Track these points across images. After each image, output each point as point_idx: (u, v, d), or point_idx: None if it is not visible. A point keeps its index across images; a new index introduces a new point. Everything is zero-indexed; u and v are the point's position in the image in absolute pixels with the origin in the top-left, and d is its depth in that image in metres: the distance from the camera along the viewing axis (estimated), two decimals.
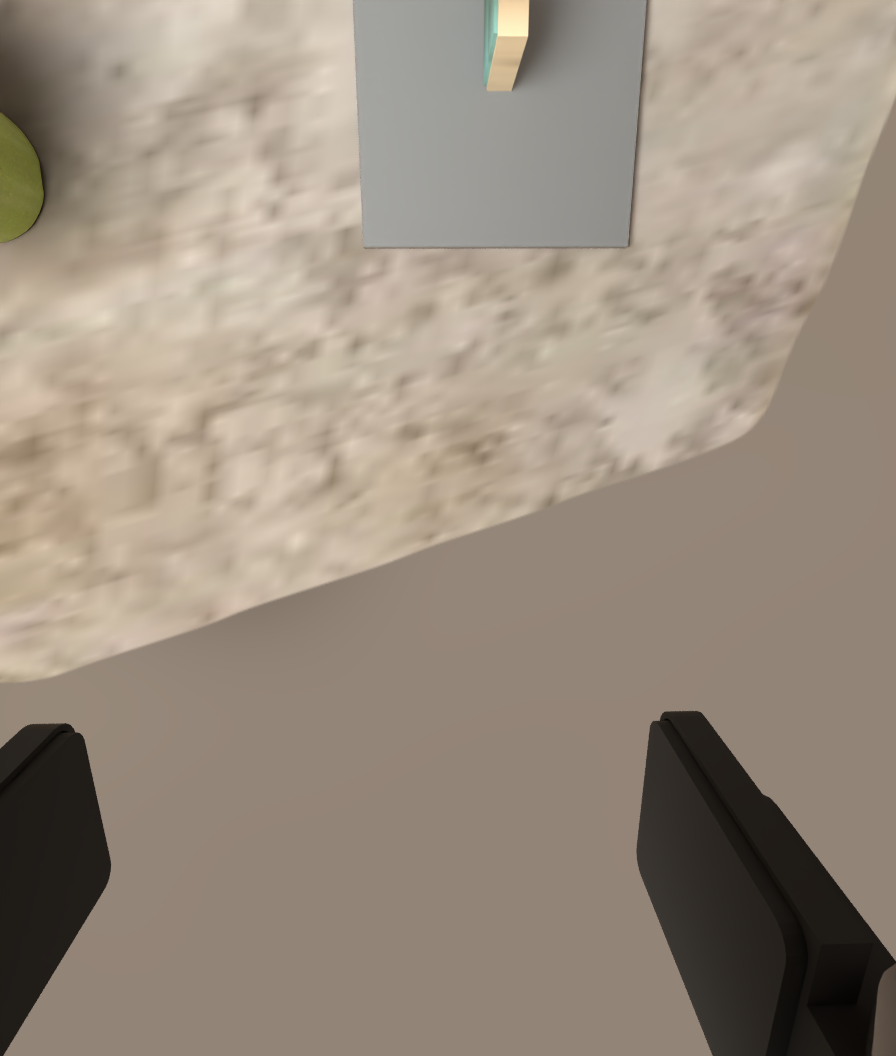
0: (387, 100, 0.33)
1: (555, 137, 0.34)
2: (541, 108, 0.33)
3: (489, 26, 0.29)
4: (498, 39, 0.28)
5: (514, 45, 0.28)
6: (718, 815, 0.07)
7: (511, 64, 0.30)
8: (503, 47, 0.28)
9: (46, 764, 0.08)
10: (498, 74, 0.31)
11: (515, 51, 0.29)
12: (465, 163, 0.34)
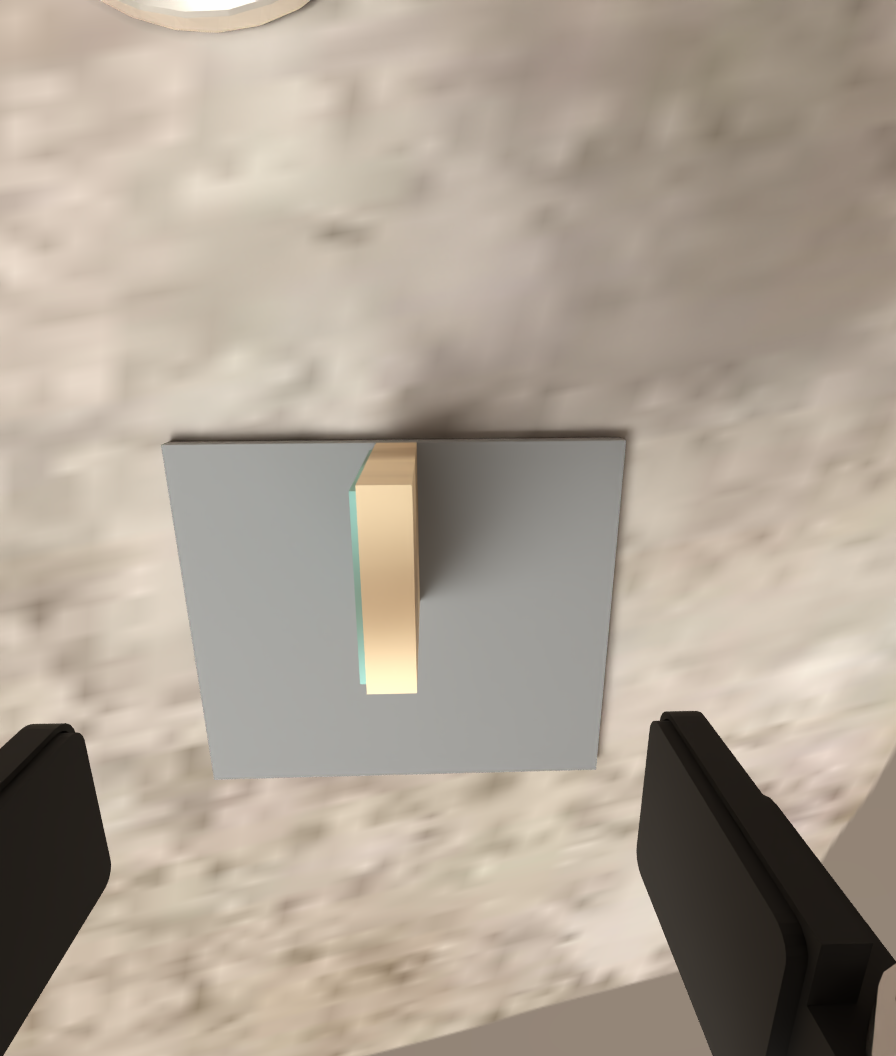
0: (234, 615, 0.22)
1: (487, 652, 0.23)
2: (465, 619, 0.22)
3: None
4: None
5: None
6: (718, 815, 0.07)
7: None
8: None
9: (46, 764, 0.08)
10: None
11: None
12: (356, 684, 0.23)
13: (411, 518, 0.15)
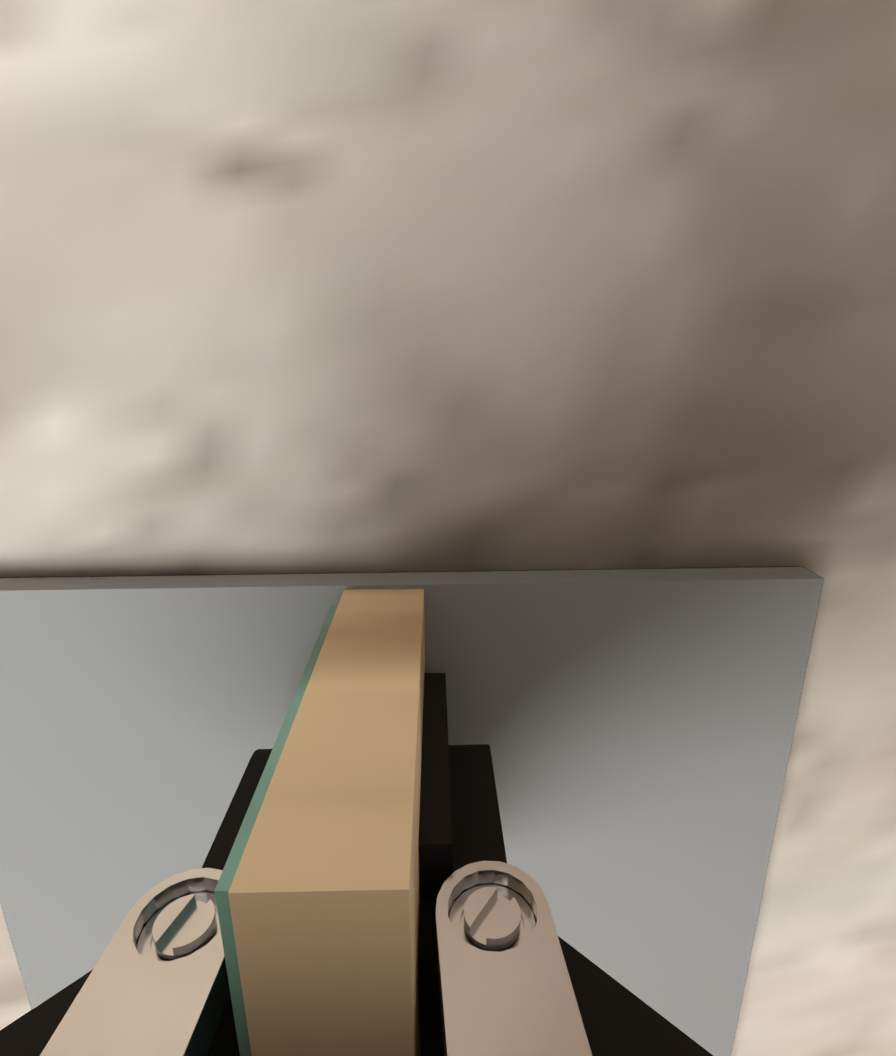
0: (81, 883, 0.12)
1: None
2: None
3: None
4: None
5: None
6: None
7: None
8: None
9: None
10: None
11: None
12: None
13: (407, 970, 0.05)
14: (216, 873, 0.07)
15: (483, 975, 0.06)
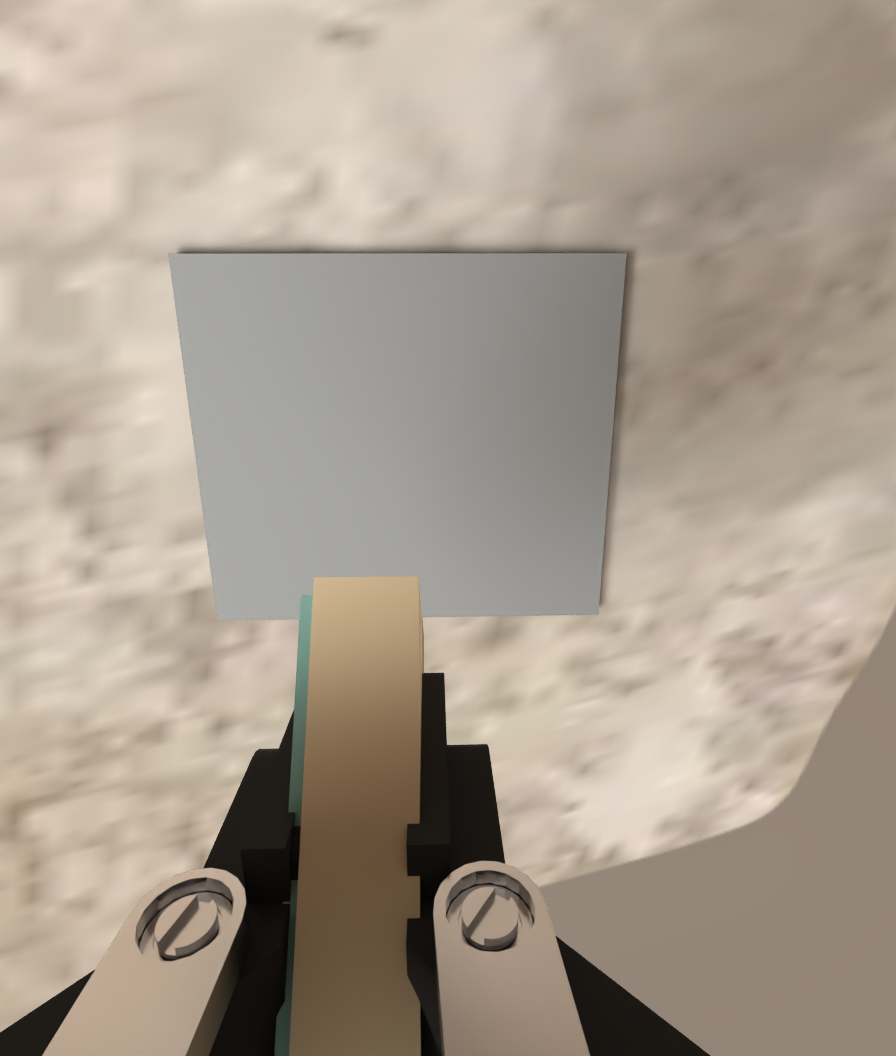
0: (239, 440, 0.22)
1: (490, 483, 0.23)
2: (468, 447, 0.23)
3: None
4: None
5: None
6: None
7: None
8: None
9: None
10: None
11: None
12: (359, 517, 0.23)
13: (416, 642, 0.08)
14: (218, 873, 0.07)
15: (481, 975, 0.05)
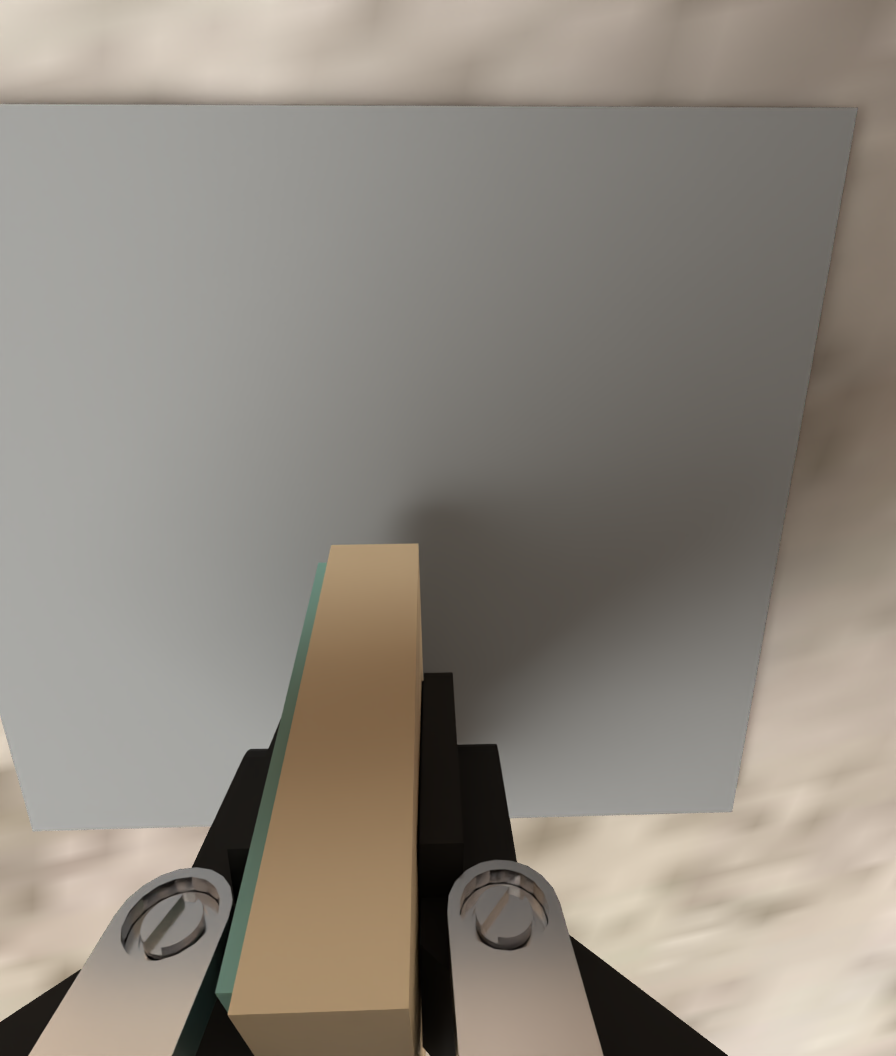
0: (37, 510, 0.11)
1: (542, 589, 0.12)
2: (500, 521, 0.11)
3: None
4: (241, 1027, 0.05)
5: (352, 1043, 0.05)
6: None
7: None
8: (297, 1051, 0.05)
9: None
10: None
11: None
12: (288, 652, 0.12)
13: (415, 580, 0.09)
14: (205, 873, 0.07)
15: (494, 973, 0.06)
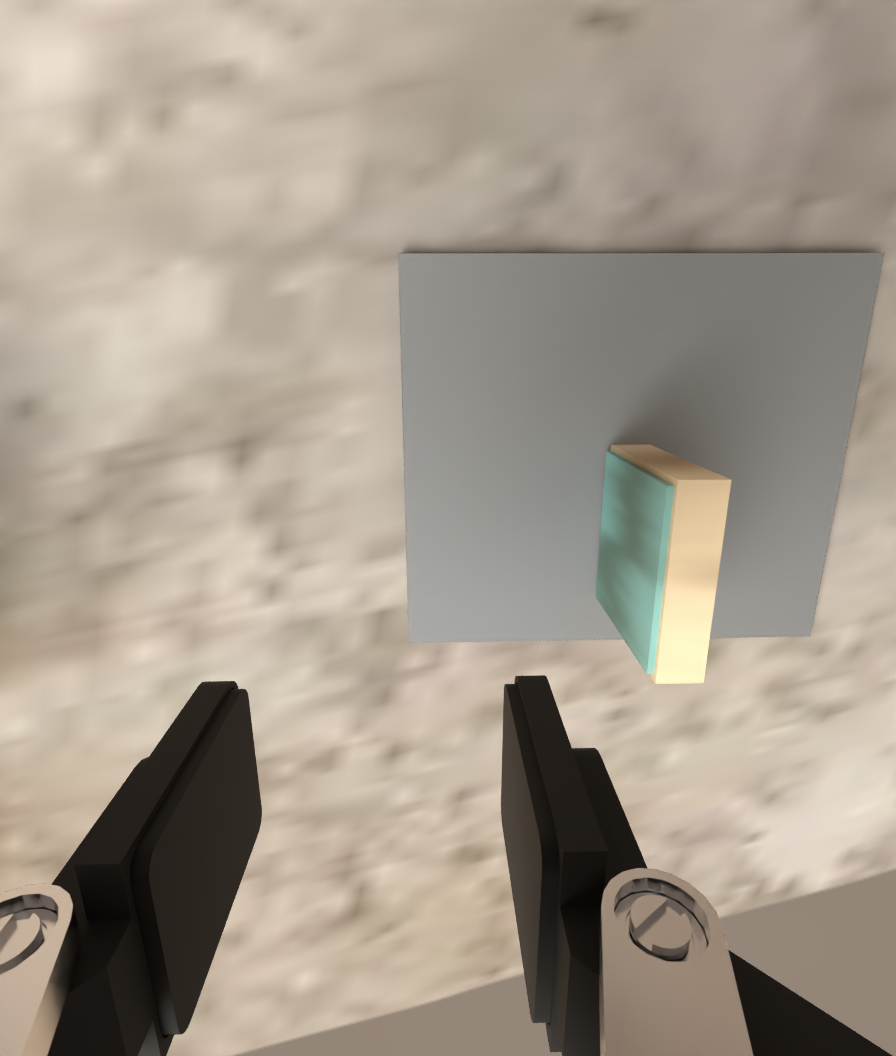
0: (452, 452, 0.21)
1: None
2: (693, 459, 0.21)
3: (643, 548, 0.17)
4: (679, 490, 0.15)
5: (707, 511, 0.15)
6: (526, 758, 0.08)
7: (702, 580, 0.16)
8: (687, 519, 0.16)
9: (230, 714, 0.09)
10: (678, 618, 0.16)
11: (709, 533, 0.16)
12: (569, 533, 0.22)
13: (657, 448, 0.20)
14: (52, 889, 0.06)
15: (647, 978, 0.05)
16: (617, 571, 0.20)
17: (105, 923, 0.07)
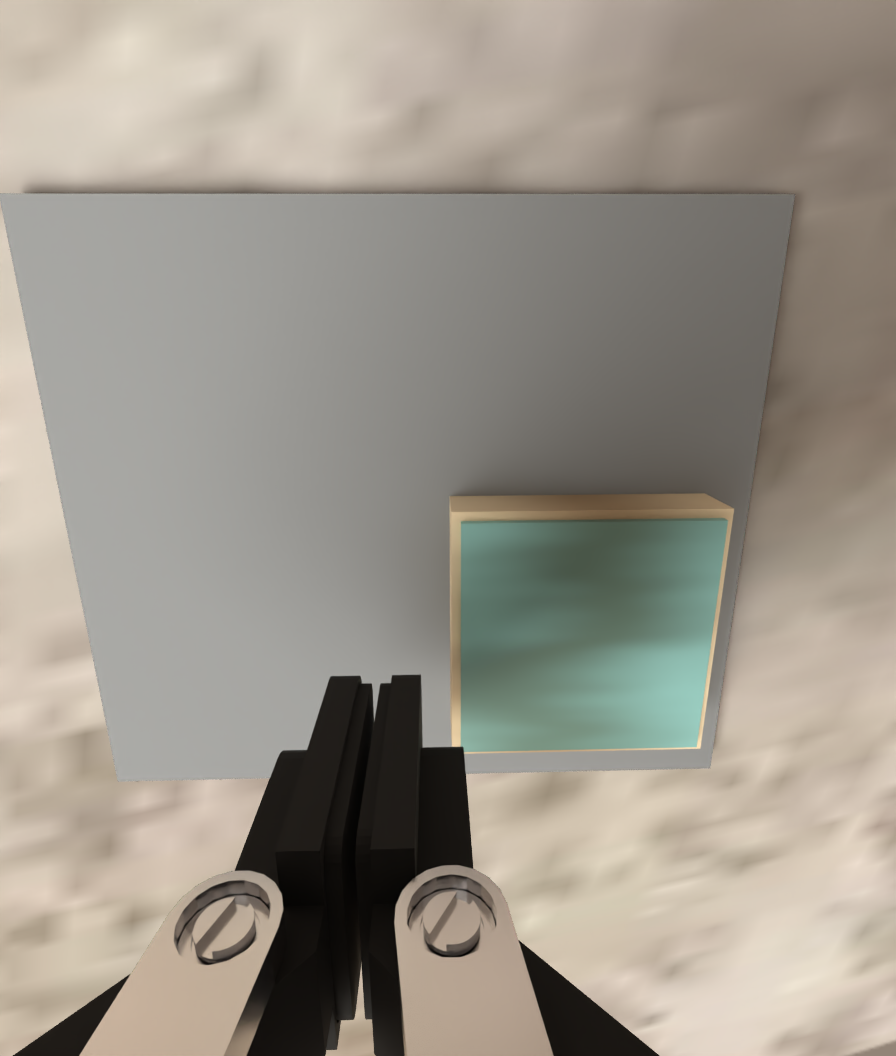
0: (139, 508, 0.14)
1: None
2: None
3: (660, 615, 0.13)
4: (731, 520, 0.13)
5: None
6: (373, 757, 0.08)
7: None
8: None
9: (365, 707, 0.10)
10: None
11: None
12: (337, 627, 0.15)
13: (487, 496, 0.14)
14: (253, 875, 0.07)
15: (443, 982, 0.05)
16: (561, 678, 0.13)
17: (302, 909, 0.07)
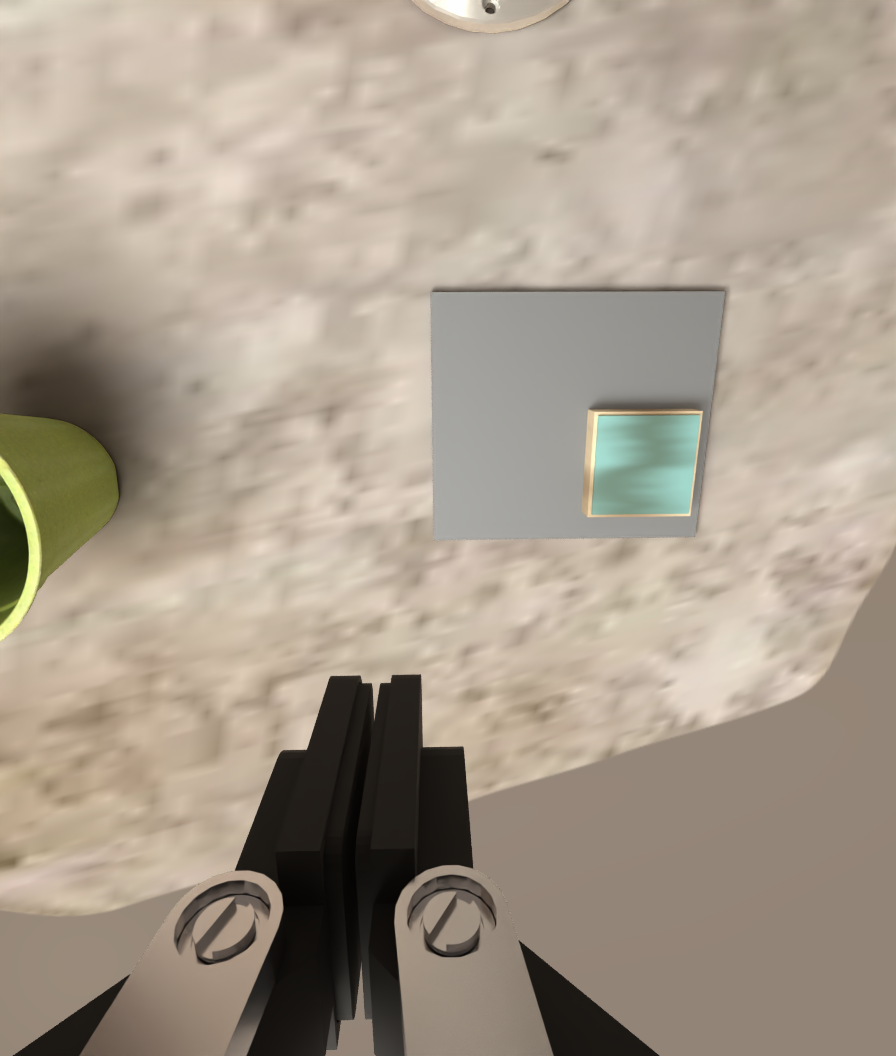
0: (462, 414, 0.33)
1: None
2: None
3: (674, 454, 0.33)
4: (701, 416, 0.32)
5: None
6: (373, 757, 0.08)
7: None
8: None
9: (365, 707, 0.10)
10: None
11: None
12: (537, 467, 0.34)
13: (603, 409, 0.33)
14: (253, 876, 0.07)
15: (443, 982, 0.05)
16: (634, 481, 0.33)
17: (302, 909, 0.07)
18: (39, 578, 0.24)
